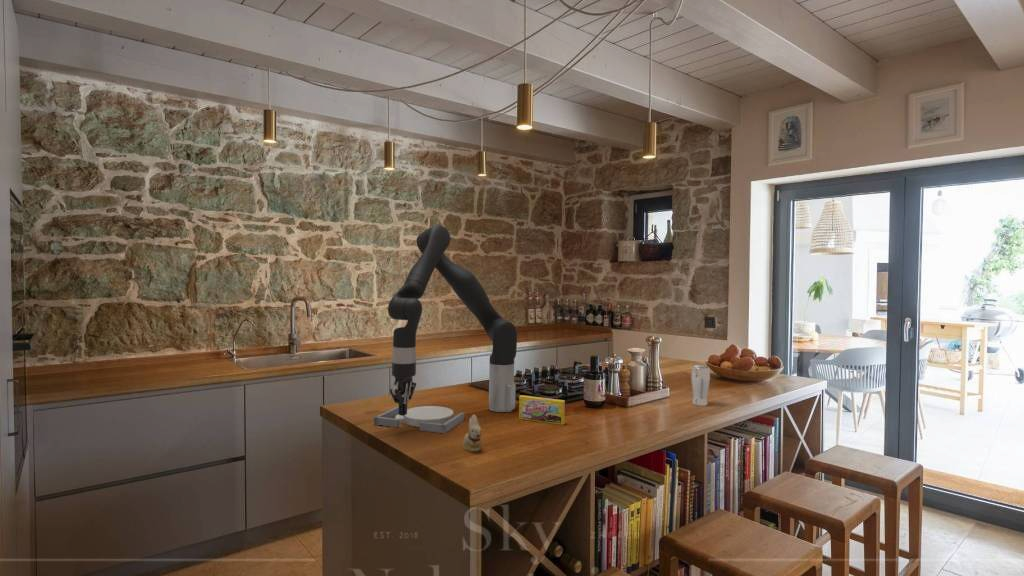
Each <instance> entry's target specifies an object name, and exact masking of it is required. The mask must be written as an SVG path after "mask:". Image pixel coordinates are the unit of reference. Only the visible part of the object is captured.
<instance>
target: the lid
mask: <svg viewBox="0 0 1024 576" xmlns="http://www.w3.org/2000/svg"><path fill="white" fill-rule="evenodd" d="M453 417H454V410H452V409H451V408H449V407H444V406H437V405H436V406H435V405H423V406H415V407H410V408H407V414H406V415H404V416H401V415H399V414H398V415H396V416H395V417H394V419H399V422H400V423H399V424H405V423H406V424H405V425H407V426H409V427H415V426H416V428H420V422H428V423H437V424H444V423H445V422H447V421H448V420H450V419H452V418H453Z"/></svg>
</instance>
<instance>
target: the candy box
mask: <svg viewBox="0 0 1024 576" xmlns="http://www.w3.org/2000/svg"><path fill="white" fill-rule="evenodd" d="M518 403H519V404H518V405H519V406H518V419H519V420H523V419H524V421H525V420H526V421H530V420H531V421H530V422H539V423H546V424H555V425H564V424H565V423H566V421H565V414H566V413H565V410H566V401H565V400H564V399H556V398H550V397H549V398H548V397H539V396H532V395H524V394H523V395H521V394H520V395H519V396H518Z"/></svg>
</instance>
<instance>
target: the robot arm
mask: <svg viewBox="0 0 1024 576" xmlns="http://www.w3.org/2000/svg"><path fill="white" fill-rule="evenodd" d="M451 238H452V237H451V233H450V232H449V230H448V228H447V227H445V226H444V225H442V224H435V225H432V226H430V227H428V228H427V229H425V230H424V231H422V232H421V233H419V235H417V238H416V239H415V240H416V242H415V243H416V246H417V248H418V250H419V251H420V253H421V256H420V257H419V258H418V259H417V261H416V262H415V263H414V264H413V266H412V267H411V269H410V271H409V272H408V274H407V275H406V276H407V277H406V279H405V280H404V284H403V285H402V286H401V287H400V288H399V289H398V290H397V292H395V294H394V296H392V298H391V299H390V301H389V303H388V306H387V313H388V315H389V317H390V318H391V319H393V320H399V321H400V320H401V321H406V324H405V325H404V326H401V327H396V328H395V329H394V330H393V333H392V334H393V336H392V338H393V339H392V341H393V342H392V352H391V375H392V377H394V383H393V384H394V386H393V388H390V389H389V393H390V395H391V398H392V400H393V401H394V404H395V403H396V404H397V405H398V406H399V415H401V416H404V415H406V414H407V409H408V403H409V401H411V400H412V399H413V396H414V392H415V389H416V386H417V383H416V382H413V377H415V376H416V374H417V348H416V345H417V343H416V340H417V331H418V328H419V327H418V326H419V323H420V319H421V317H422V313H423V306H422V302H421V300H420V299H421V298H422V297H423V295H424V293H425V291H426V288H427V286H428V283H429V281H430V280H431V276H432V275H433V272H434V270H435V269H436V270H437V272H439V274H440V275H441V277H442V278H443V279H444V280H445V281H446V283H447V284H448V285H449V286H450V288H451V289H452V290H453V292H454V293H455V294H456V295H457V297H458V298H459V299H460V301H461V302H462V303H463V304H464V306H465V307H467V309H468V310H469V311H470V312H471V313H472V314H473V315H474V316H475V318H476V319H477V321H479V323H480V324H481V326H482V328H483V329H484V331H485V333H486V334H487V337H488V338H489V339H490V340H491V341H492V350H491V354H490V355H489V380H488V381H489V383H488V409H489V411H491V412H497V413H505V412H506V413H511V412H512V411H514V410H515V409H516V391H517V389H516V388H517V387H516V383H515V358H516V356H517V347H518V344H517V343H518V332H517V328H516V326H515V324H513V323H512V322H511V321H508V320H505V318H503V317H502V316H501V315H500V314H499V313H498V311H496V309H495V308H494V307H493V304H492V303H491V301H490V299H489V297H488V294H487V291H486V290H485V289H484V287H483V285H482V284H481V282H480V281H479V280H478V279H477V277H476V276H475V275H474V273H472V272H471V271H470V270H468V269H466V268H465V267H463V266H461V265H459V264H457V263H455V262H453V261H452V260H451V259H450V258H449V257H448V256H447V255H446V253H445V252H446V250H447V249H448V247H449V245H450V244H451Z"/></svg>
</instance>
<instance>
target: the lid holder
mask: <svg viewBox="0 0 1024 576" xmlns="http://www.w3.org/2000/svg"><path fill="white" fill-rule="evenodd" d="M398 414H399V405H397V406H395V407H393V408H391V409H389V410H387V411H384V412H383V413H381V414H378V415H376V416H374V417H373V425H374V426H378V425H383V426H382V427H387V426H390V427H389V428H395V427H398V428H400V423H399V419H395V417H396V415H398ZM464 420H465V412H462V411H461V412H460V413H458V414H456V415H455V416H452V419H450V420H448V421H447V422H445V423H444V424H437V423H428V422H420V427H419V431H422V432H431V433H436V434H437V433H438V434H446V433H447V432H448V431H451V429H453V428H455V427H456V426H457V425H459V424H461V423H462V422H464Z"/></svg>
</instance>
